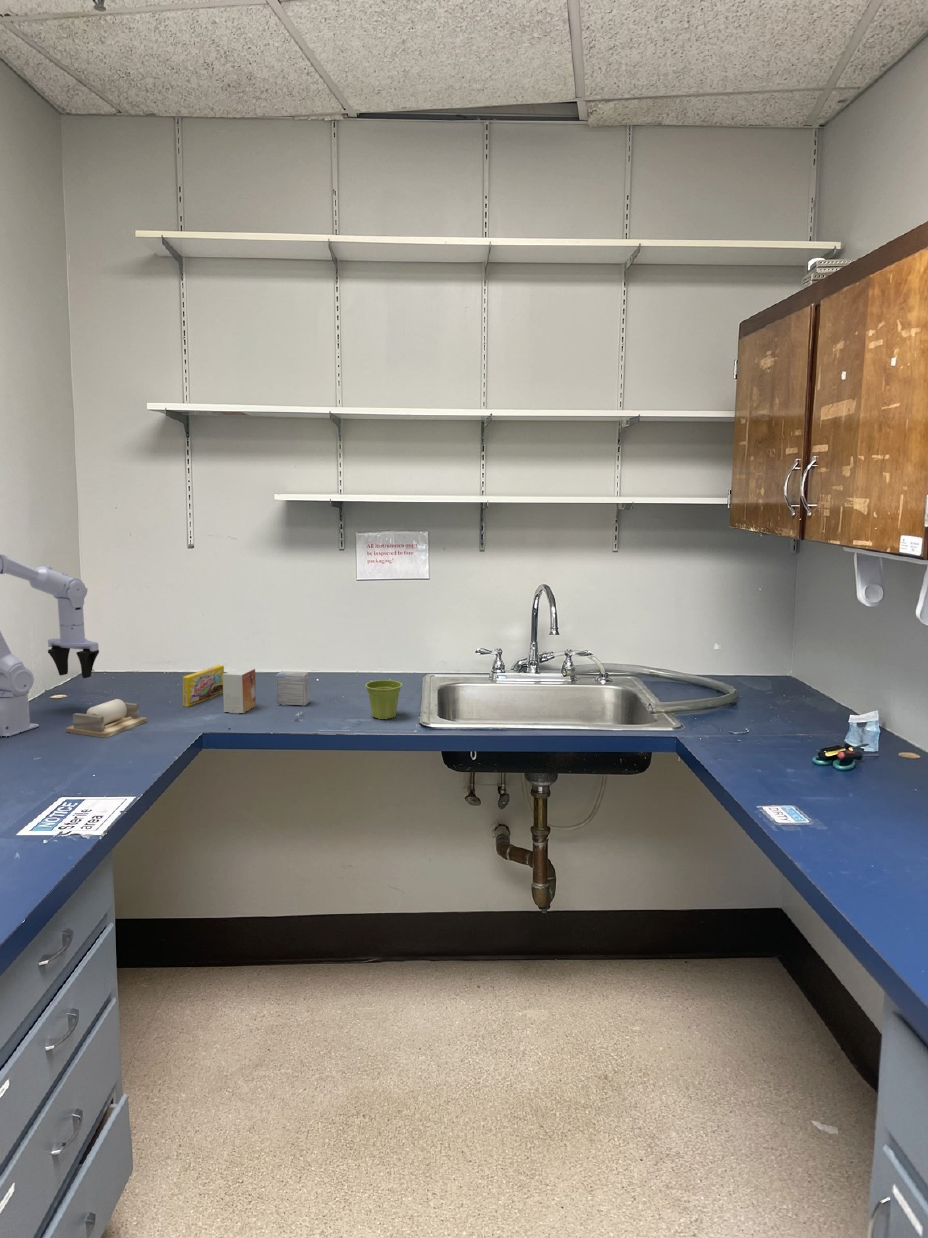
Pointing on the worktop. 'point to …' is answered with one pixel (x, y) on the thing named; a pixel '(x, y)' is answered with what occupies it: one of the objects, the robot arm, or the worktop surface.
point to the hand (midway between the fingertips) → (75, 676)
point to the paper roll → (109, 710)
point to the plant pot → (383, 698)
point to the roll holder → (96, 726)
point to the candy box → (202, 685)
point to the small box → (239, 690)
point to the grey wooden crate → (292, 688)
